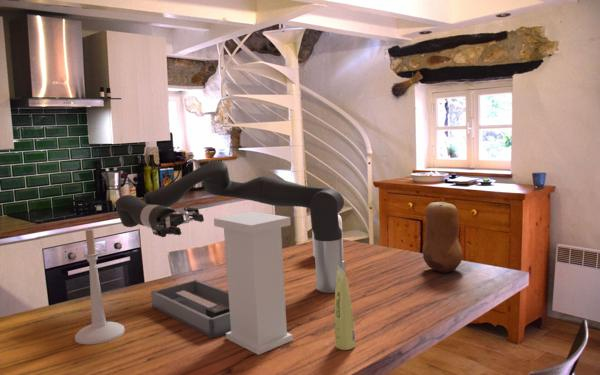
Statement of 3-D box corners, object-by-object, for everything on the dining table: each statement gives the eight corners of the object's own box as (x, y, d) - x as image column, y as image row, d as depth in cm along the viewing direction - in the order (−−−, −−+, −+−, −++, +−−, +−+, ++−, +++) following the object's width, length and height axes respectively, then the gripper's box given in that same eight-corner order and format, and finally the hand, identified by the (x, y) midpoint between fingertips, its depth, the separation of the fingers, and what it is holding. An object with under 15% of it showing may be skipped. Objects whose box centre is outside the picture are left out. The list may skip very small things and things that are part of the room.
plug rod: (173, 302, 158) (172, 293, 158) (187, 298, 162) (186, 289, 161) (215, 323, 140) (214, 313, 139) (230, 318, 143) (230, 308, 142)
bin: (152, 307, 158) (151, 291, 158) (197, 294, 169) (195, 279, 168) (211, 338, 132) (210, 320, 131) (260, 320, 143) (259, 303, 142)
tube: (329, 346, 123) (325, 269, 121) (341, 339, 127) (337, 264, 125) (348, 352, 120) (344, 273, 117) (359, 345, 124) (356, 268, 121)
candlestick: (112, 321, 148) (102, 221, 144) (132, 332, 138) (122, 226, 135) (67, 335, 139) (55, 229, 135) (86, 348, 130) (73, 235, 126)
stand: (222, 338, 132) (213, 218, 128) (258, 324, 140) (251, 211, 136) (259, 356, 120) (250, 225, 116) (296, 340, 128) (290, 217, 124)
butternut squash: (466, 268, 182) (466, 200, 179) (456, 278, 171) (455, 206, 168) (429, 264, 190) (428, 198, 187) (417, 273, 178) (415, 204, 175)
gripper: (135, 216, 149) (168, 224, 139) (173, 197, 159) (206, 202, 149) (143, 238, 152) (175, 247, 142) (179, 218, 162) (212, 225, 151)
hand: (191, 224), depth 145 cm, fingers open, 8 cm apart
